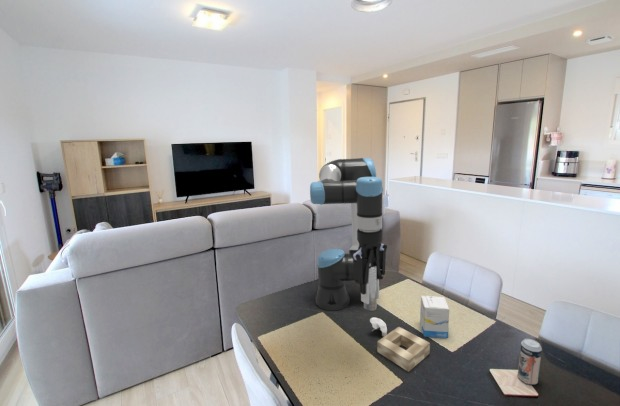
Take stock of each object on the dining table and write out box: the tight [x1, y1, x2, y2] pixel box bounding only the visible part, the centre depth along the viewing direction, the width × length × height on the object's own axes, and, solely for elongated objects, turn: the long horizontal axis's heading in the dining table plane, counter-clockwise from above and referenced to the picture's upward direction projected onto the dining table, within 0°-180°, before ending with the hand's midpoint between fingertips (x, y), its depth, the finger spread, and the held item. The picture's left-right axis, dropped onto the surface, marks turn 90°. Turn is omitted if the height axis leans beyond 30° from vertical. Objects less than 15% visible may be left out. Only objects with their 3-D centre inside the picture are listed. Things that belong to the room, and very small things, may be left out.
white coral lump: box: [369, 317, 388, 338], centre depth 111 cm, size 8×7×6 cm
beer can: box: [517, 338, 543, 385], centre depth 85 cm, size 5×5×12 cm
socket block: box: [376, 326, 431, 373], centre depth 99 cm, size 12×12×4 cm
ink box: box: [419, 295, 450, 339], centre depth 109 cm, size 9×8×12 cm
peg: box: [363, 263, 378, 311], centre depth 93 cm, size 4×4×14 cm
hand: (370, 299), depth 94 cm, fingers closed on peg, 4 cm apart
